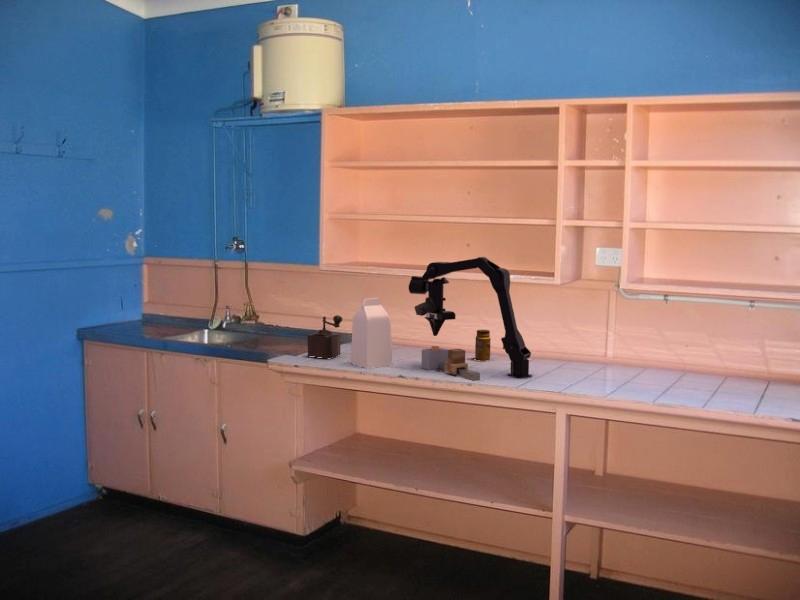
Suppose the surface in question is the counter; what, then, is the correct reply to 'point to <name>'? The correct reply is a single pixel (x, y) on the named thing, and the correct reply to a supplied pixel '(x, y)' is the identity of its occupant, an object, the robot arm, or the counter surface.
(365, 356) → the milk
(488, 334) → the condiment
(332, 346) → the manual coffee grinder
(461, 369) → the rail
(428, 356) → the grey peg holder
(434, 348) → the brown rounded piece
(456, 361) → the carriage
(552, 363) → the counter surface
